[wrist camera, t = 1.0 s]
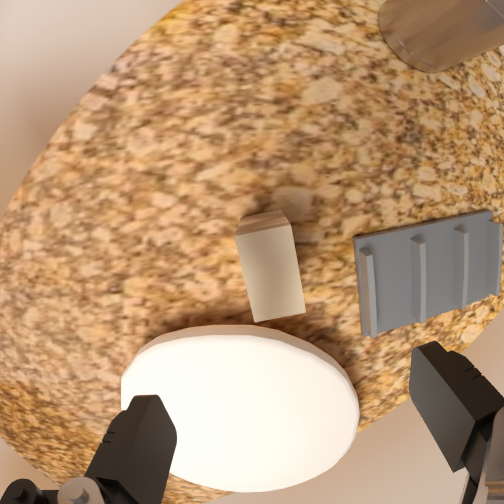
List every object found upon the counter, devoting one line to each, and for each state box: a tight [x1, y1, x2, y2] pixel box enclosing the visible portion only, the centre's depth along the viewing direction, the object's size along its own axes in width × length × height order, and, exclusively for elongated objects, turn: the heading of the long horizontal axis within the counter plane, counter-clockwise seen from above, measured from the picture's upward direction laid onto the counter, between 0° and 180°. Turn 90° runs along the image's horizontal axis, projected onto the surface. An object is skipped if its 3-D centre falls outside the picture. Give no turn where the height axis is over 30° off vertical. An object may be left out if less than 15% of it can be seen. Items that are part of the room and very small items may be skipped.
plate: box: [121, 325, 360, 492], centre depth 30 cm, size 28×6×27 cm
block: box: [235, 209, 306, 322], centre depth 23 cm, size 4×6×8 cm, turn 12°
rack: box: [352, 210, 503, 338], centre depth 26 cm, size 17×10×3 cm, turn 102°
